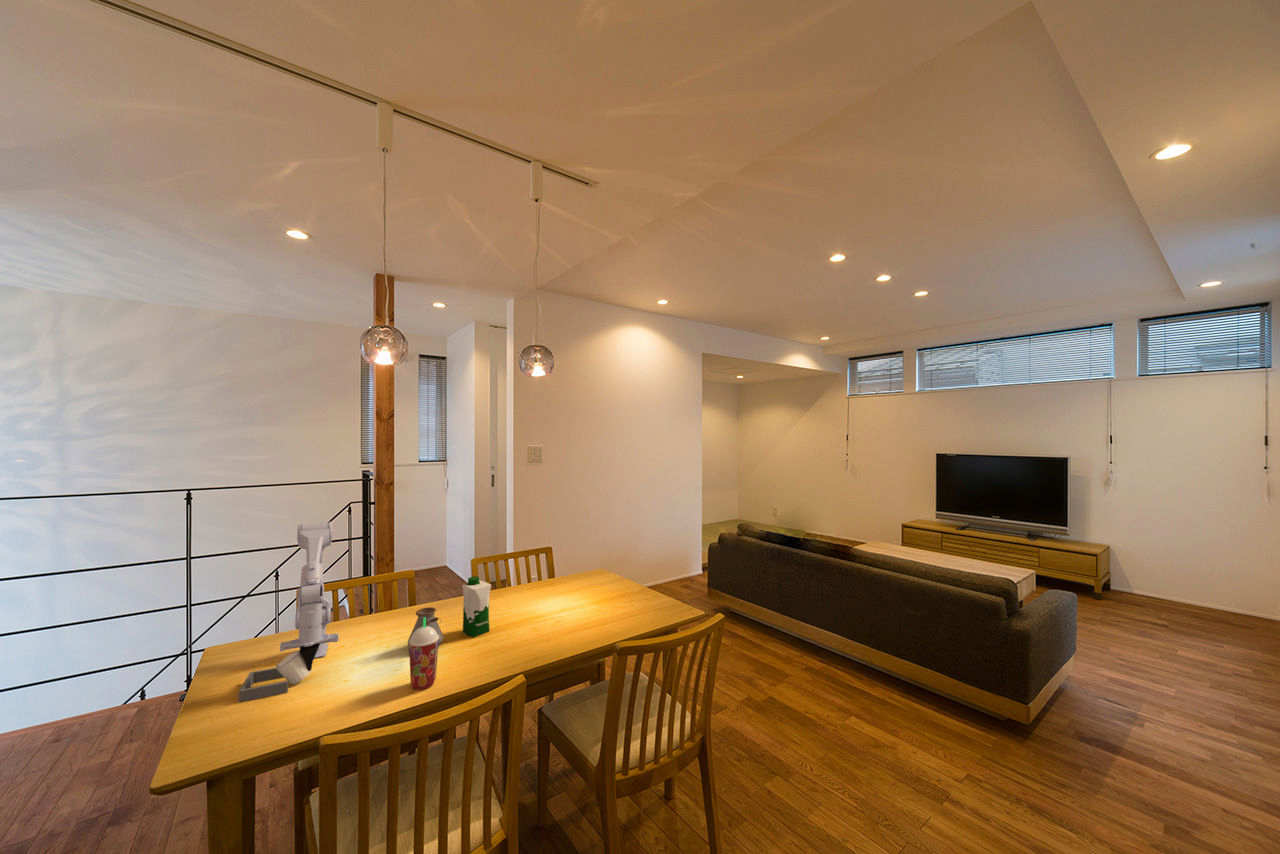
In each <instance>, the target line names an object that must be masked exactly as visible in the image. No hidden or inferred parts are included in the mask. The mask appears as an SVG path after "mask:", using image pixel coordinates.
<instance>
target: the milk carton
mask: <svg viewBox="0 0 1280 854" xmlns="http://www.w3.org/2000/svg"><path fill="white" fill-rule="evenodd" d="M491 589H492V584H491V583H489V582H486V581H483V580H481V579H480V577H479V576H470V577H468V578H467V583H465V584H462V594H463V604H462V605H463V607H462V608H463V610H462V611H463V612H462V613H463V614H462V615H463V616H462V633H463V634H465V635H467V636H469V637H471V638H477V637H478V636H482V635H484V634H486V633H489V632H490V631H491V630H490V618H489V617H490V614H489V613H490V592H491Z"/></svg>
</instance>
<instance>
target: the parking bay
mask: <svg viewBox="0 0 1280 854" xmlns="http://www.w3.org/2000/svg"><path fill="white" fill-rule="evenodd" d="M282 678H285V677H284V676H283V675H282V674H281V673H280V672H279V671H278V670H277V669H276V667H272V668H266V669H260V670H259V669H258V670H254V671H250V672H248V675H247V677H246V678H245V680H244V681H243V684H242V685H241V687H240V689H239V690H238V701H237V702H238V703H243V702H249V701H253V700H258V699H263V698H267V697H268V698H269V697H273V696H277V695H283V694H287V693H288V692H289V682H288V681H287V680H285V681H279V682H275V683H269V684H264V685H259V686H254V687H252V686H253V685H254V684H255V683H261V682H265V681H271V680H277V679H282Z"/></svg>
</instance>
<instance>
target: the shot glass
mask: <svg viewBox="0 0 1280 854" xmlns="http://www.w3.org/2000/svg"><path fill="white" fill-rule="evenodd" d="M275 668H276V669H277V670H278V671H279V672H280V673H281V674H282V675H283V676H284V677H283V678H284V679H285V681H288V684H290V685H292V686H293V685H296V684H298V683H299V682H301V681H302V680H304V679H305V678H306V677H308V675H309V674H310V673H311V672H312V670H311V671H308V669H307V665H306V662H305V660H304V658H303V657H302V655H301V654H300V649H299V650H296V651H293V652H292V653H289V654H288V655H286V656H285V657H284V658H283V659H281V660H280V661H279V662H278V663H277V664H276V666H275Z"/></svg>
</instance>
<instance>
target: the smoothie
mask: <svg viewBox="0 0 1280 854" xmlns="http://www.w3.org/2000/svg"><path fill="white" fill-rule="evenodd" d="M438 644H439V635H438V634H437V632H436V630H435V629H434V628H432V627H430V626H426V617H424V618H423V627H420V628H418V629H417V630H416V631H415V632H414V633H413V634H412V636H411V639H410V640H409V645H408V649H409V651H408V652H409V653H408V654H409V655H408V656H409V674H410V677H409V678H410V685H411V686H412V688H413V689H414V690H416V691H417V690H418V691H423V690H427V689H429V688H431V687H432V686H433V685H434V683H435V681H436V677H437V667H438V656H439V645H440V644H439V645H438Z"/></svg>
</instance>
